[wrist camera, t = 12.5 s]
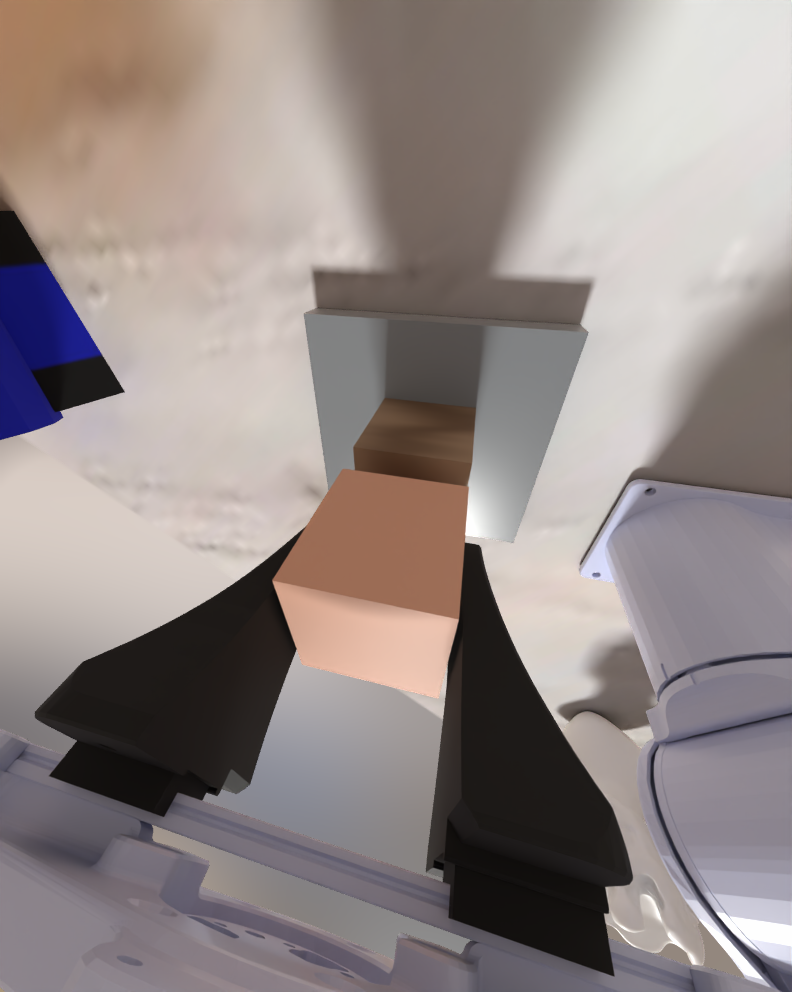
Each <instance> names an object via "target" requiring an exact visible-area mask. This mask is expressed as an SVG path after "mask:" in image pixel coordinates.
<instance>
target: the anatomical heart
mask: <svg viewBox="0 0 792 992" xmlns="http://www.w3.org/2000/svg"><path fill="white" fill-rule="evenodd" d="M562 733H563V734H564V736H565V738H566V739H567V741H568V742H569V744H570V745H571V747H572V748H573V750H574V752H575V753H576V755H577V756H578V758H579V759H580V761H581V762H582V764H583V765H584V767H585V768H586V770H587V771H588V773H589V774H590V776H591V777H592V779H593V780H594V781H595V783H596V784H597V786H598V787H599V789H600V790H601V791H602V793H603V794H604V796H605V797H606V799H607V800H608V801H609V803H610V804H611V806H612V808H613V810H614V813H615V816H616V818H617V821H618V824H619V827H620V830H621V833H622V836H623V839H624V842H625V845H626V848H627V852H628V856H629V859H630V864H631V869H632V873H633V881H632V882H631V884H630V885H626V886H613V887H605V888H606V894H607V899H608V905H609V914H605V913H604V917H605V922H606V924H608V925H611V926H613V927H614V928H615V929H616V930H617V931H618V932H619V933H620V934H621V935H622V936H623V937H624V938H625V940H626V941H627V942H628V943H630V944H631V945H632V946H634V947H636V948H639V949H642V950H645V951H648V952H651V953H658V952H660V951H661V950H662V949H663V948H664V946H665V945H666V944H668V943H673V944H676V945H677V946H679V947H680V948H682V949H683V950H684V951H685V952H687V955H688V957H689V959H690V961H691V963H692V964H694V965H700V966H703V964H704V960H705V950H704V943H703V939H702V936H701V933H700V931H699V928H698V925H699V919H698V917H697V916H696V915H695V913H694V912H693V910H692V909H691V908H690V906H689V905H688V903H687V902H686V901H685V899H684V898H683V896H682V894H681V893H680V891H679V890H678V888H677V886H676V885H675V883H674V881H673V880H672V878H671V877H670V875H669V873H668V871H667V869H666V867H665V865H664V863H663V861H662V859H661V858H660V856H659V853H658V851H657V849H656V847H655V844H654V842H653V840H652V837H651V835H650V832H649V829H648V827H647V825H646V824H645V822H644V820H643V819H644V815H643V811H642V807H641V803H640V799H639V793H638V786H637V762H638V757H639V754H640V752H641V748H640V747H639V746H638V745H637V744H636V743H635V742H634V741H633V740H632V739H630V738H629V737H628V736H627V735H626V734H625V733H623V732H622V731H621V730H620V729H619V728H617V727H616V726H615V725H614V724H612V723H611V722H610V721H608V720H607V719H605V718H603V717H602V716H600V715H598V714H596V713H593V712H589V711H585V712H581V713H579V714H577V715H576V716H575V717H574V718H573V719H572V720H571V721H570V722H569V723H568V724H567V726H566V727H565V729H564V731H563V732H562Z"/></svg>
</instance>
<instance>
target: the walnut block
mask: <svg viewBox="0 0 792 992" xmlns="http://www.w3.org/2000/svg"><path fill="white" fill-rule="evenodd" d="M475 417H476V408H473V407H464V406H455V405H445V404H436V403H427V402H418V401H409V400H400V399H391V398H384V400H383V402H382V403H381V405H380V406H379V408H378V409H377V411H376V412H375V414H374V416H373V417H372V419H371V420H370V422H369V423H368V425H367V426H366V428H365V429H364V431H363V433H362V434H361V436H360V437H359V439H358V440H357V442H356V443H355V445H354V446H353V453H354V467H355V470H356V471H363V472H370V473H377V474H384V475H391V476H398V477H405V478H412V479H419V480H426V481H433V482H440V483H447V484H453V485H460V486H467V487H468V482H469V477H470V472H471V467H472V459H473V445H474V431H475Z"/></svg>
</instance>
